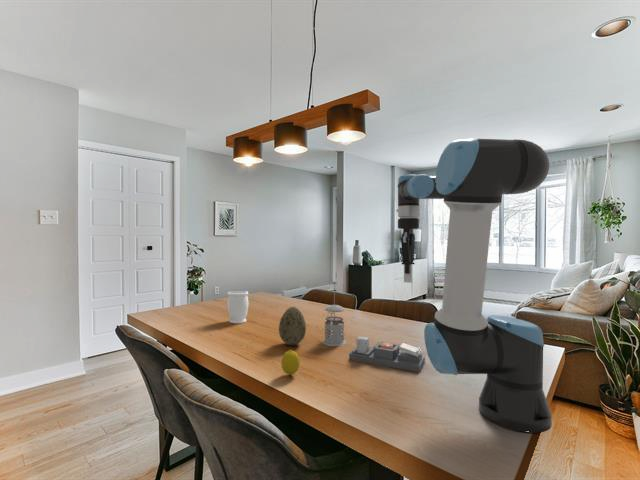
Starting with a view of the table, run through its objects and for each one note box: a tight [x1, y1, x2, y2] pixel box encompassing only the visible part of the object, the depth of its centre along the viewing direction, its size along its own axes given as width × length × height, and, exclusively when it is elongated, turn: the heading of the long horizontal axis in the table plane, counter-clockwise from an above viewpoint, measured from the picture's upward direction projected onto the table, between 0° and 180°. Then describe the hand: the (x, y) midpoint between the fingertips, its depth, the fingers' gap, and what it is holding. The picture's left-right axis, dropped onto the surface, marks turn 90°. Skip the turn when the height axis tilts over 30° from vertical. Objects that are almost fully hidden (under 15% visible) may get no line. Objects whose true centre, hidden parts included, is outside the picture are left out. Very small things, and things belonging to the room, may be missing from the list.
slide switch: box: [355, 335, 370, 354], centre depth 116 cm, size 3×4×5 cm
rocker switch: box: [399, 342, 422, 357], centre depth 111 cm, size 4×6×2 cm
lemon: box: [281, 349, 300, 377], centre depth 102 cm, size 6×6×8 cm
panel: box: [348, 341, 426, 373], centre depth 114 cm, size 10×24×5 cm, turn 63°
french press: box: [322, 280, 347, 347], centre depth 135 cm, size 10×12×25 cm
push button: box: [380, 342, 394, 350], centre depth 114 cm, size 4×4×3 cm
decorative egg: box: [278, 306, 307, 346], centre depth 131 cm, size 11×11×15 cm
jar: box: [226, 290, 249, 324], centre depth 166 cm, size 11×10×15 cm
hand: (407, 282), depth 121 cm, fingers closed
